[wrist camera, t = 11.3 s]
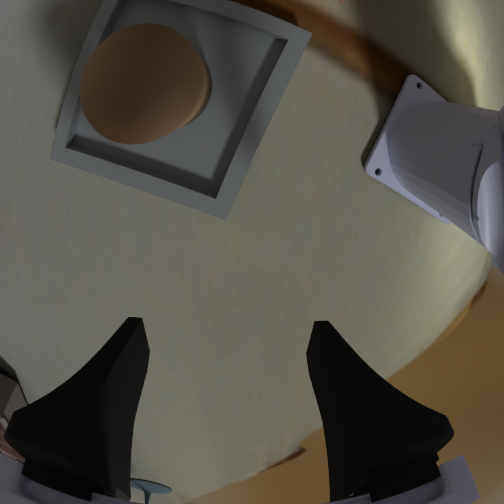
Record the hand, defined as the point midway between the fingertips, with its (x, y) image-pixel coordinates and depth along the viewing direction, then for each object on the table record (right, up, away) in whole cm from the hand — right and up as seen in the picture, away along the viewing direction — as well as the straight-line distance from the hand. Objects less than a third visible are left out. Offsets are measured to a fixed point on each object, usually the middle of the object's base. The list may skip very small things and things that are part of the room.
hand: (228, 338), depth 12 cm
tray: (-4, +13, +3) cm, 14 cm away
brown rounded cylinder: (-4, +13, +2) cm, 14 cm away
